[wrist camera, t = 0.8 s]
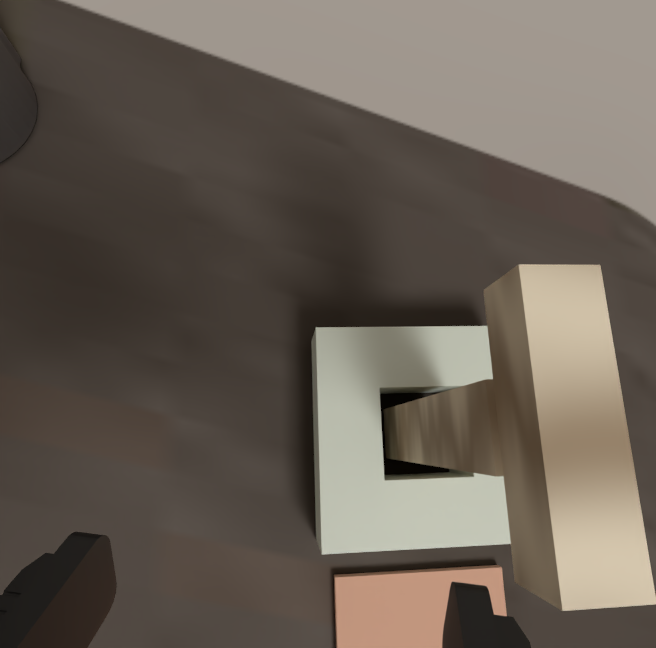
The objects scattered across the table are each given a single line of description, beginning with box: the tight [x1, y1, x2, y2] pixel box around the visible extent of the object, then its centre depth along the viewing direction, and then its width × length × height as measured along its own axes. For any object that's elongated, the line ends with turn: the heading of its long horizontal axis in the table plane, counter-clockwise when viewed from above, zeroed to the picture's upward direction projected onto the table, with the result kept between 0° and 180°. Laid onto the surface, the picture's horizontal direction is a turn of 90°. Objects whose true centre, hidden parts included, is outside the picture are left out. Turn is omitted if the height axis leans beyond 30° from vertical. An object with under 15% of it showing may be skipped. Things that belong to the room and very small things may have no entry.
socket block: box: [311, 326, 511, 554], centre depth 29 cm, size 12×12×4 cm
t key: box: [383, 265, 656, 611], centre depth 22 cm, size 9×3×18 cm, turn 2°
